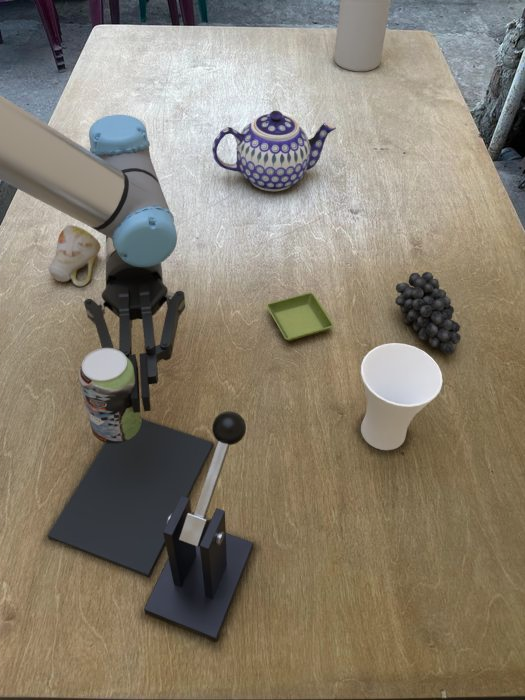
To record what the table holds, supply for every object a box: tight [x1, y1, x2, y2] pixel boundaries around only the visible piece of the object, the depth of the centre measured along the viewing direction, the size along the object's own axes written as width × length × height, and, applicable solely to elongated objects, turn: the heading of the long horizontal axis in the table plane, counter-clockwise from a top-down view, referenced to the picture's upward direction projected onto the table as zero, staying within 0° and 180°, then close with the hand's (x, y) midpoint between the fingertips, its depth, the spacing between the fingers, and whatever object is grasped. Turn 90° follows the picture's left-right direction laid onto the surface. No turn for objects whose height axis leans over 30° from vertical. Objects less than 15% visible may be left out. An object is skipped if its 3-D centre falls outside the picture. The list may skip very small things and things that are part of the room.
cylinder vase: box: [333, 0, 392, 72], centre depth 158 cm, size 12×12×25 cm
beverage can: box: [78, 347, 142, 444], centre depth 73 cm, size 6×7×12 cm
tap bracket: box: [143, 495, 254, 643], centre depth 70 cm, size 12×9×16 cm
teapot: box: [211, 110, 337, 192], centre depth 126 cm, size 25×15×15 cm, turn 98°
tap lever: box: [179, 410, 247, 547], centre depth 66 cm, size 14×4×4 cm, turn 160°
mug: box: [48, 224, 102, 287], centre depth 109 cm, size 8×10×10 cm
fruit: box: [394, 271, 461, 356], centre depth 101 cm, size 9×8×15 cm
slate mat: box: [46, 418, 214, 578], centre depth 83 cm, size 14×20×1 cm
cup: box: [360, 342, 443, 451], centre depth 85 cm, size 10×10×14 cm
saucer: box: [265, 291, 335, 342], centre depth 103 cm, size 9×9×2 cm
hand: (140, 404), depth 70 cm, fingers closed on beverage can
